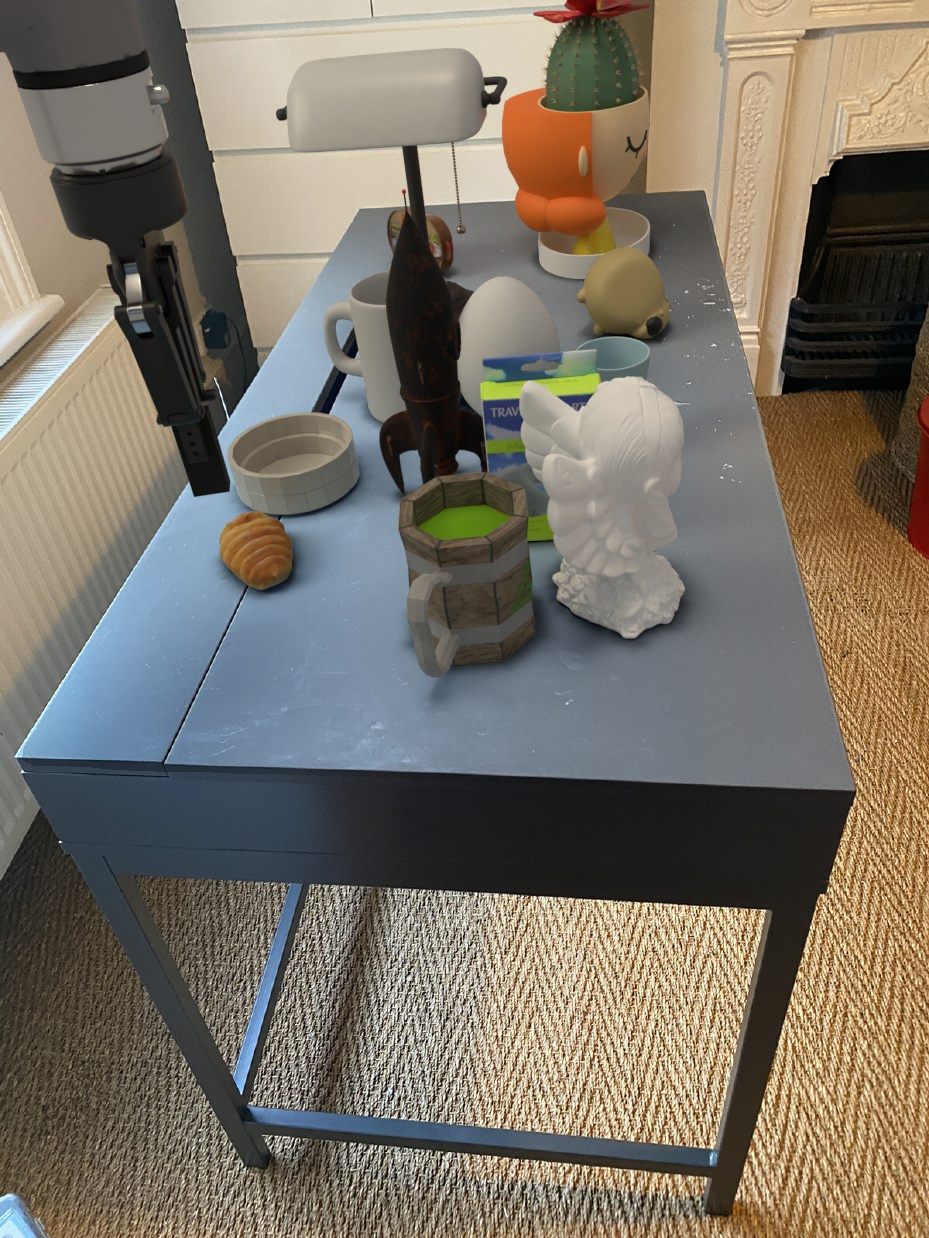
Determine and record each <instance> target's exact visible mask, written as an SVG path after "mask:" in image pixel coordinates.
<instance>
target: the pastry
mask: <svg viewBox="0 0 929 1238" xmlns="http://www.w3.org/2000/svg"><path fill="white" fill-rule="evenodd" d="M218 543H219V546H220V547H219V557H220V559H221V560H222V561H223V563H224V564H225V566H226V568H228V569H229V571H231V572H232V573H233V574H234V576H235V577H236V578H238V579H239V580H240V581H242V583H244V584H245V585H247V586H248V587H249V588H252V589H253V588H254V589H256V590H259V591H262V590H267V589H269V588H270V587H274V586H277V585H280V584H281V583H283V582H284V581H286V580H287V579H288V578H289V576H290V574H291V572H292V570H293V560H294V552H293V547H294V546H293V545H294V543H293V540H292V538H291V537H290V536H289V535H288V534H287V533H286V530H285V524H284V523H283V522H281V521H280V520H279V519H276V518H275V517H271V516H269V515H267V513H264V512H260V511H255V510H253V511H247V512H243V513H240V514H238V515H236V517H234V518H233V520H231V521H229V522H227V523H226V524H225V526H224V528H223V529H222V530H221V532H220V536H219V542H218Z"/></svg>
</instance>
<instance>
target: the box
mask: <svg viewBox="0 0 929 1238" xmlns="http://www.w3.org/2000/svg"><path fill="white" fill-rule="evenodd" d="M540 359H542V360H543V361H544V362H557V363H559V367H558V368H556V369H549V370H535V371H523V370H522V369H521V367H522V365H524V364H530V363H536V361H538V360H540ZM482 364H483V372H484V383H480V398H481V406H482V415H483V416H482V417H483V425H484V436H485V446H486V456H487V467H488V472H489V473H491V474H493V475H496V476H498V477H501V478H503V479H505V480H508V481H510V482H512V483H515V484H517V485H520V486H522V487H524V488H525V493H526V501H527V509H528V531H527V542H535V541H536V542H537V541H538V542H539V541H554V532H553V531H552V529H551V528H550V526H549V522H548V518H547V508H548V502H549V499H550V497H549V495H548V494H547V492H546V490H545V488H544V486H543V483H542V482H541V481H539V480H538V479H537V478H536V476H535V475H534V473H533V471H532V467H531V466H530V465H529V464H528V462H527V459H526V456H525V450H526V447H525V446H524V444H523V441H522V438H521V426H522V423H523V421H524V419H523V418H522V416H521V413H520V409H519V400H520V394H521V389H522V387H523V385H524V384H525V383H526V382H527V381H533V382H536V383H538V384H540V385H541V386H543V387H544V388H545V389H547V390H548V391H550V392H551V393H552V394H554V395H555V396H557V397H558V398H559V399H561V400H562V401H563V402H565V403H566V404H568V405H569V406H570V407H572V408H573V409H574V410H576V411H577V412H578V411H579V410H580V408H581V407H582V406H586V404H587V402H588V401H589V399H590V398H591V397H592V396H593V395H594V394H595V393H596V392H595V389H596V387H597V386H598V385H599V384H600V383H601V379H600V374H598V373H597V349H592V350H580V351H575V350H568V351H561V352H554V353H543V354H531V355H516V356H505V357H492V358H482Z"/></svg>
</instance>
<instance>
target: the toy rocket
mask: <svg viewBox="0 0 929 1238" xmlns="http://www.w3.org/2000/svg"><path fill="white" fill-rule="evenodd" d="M401 193H402V194H403V200H404V209H406V212H405V215H404V219H403V222H402V226H401V229H400V233H399V236H398V240H397V243H396V247H395V250H394V254H393V253H392V258H391V264H390V269H389V270H390V272H389V278H388V285H387V293H386V299H385V300H386V313H387V320H388V327H389V334H390V339H391V344H392V348H393V353H394V358H395V363H396V367H397V372H398V376H399V380H400V385H401V388H400V394H399V395H401V398H402V399H403V400H404V401H405V405H406V409H407V410H405V411H402V412H399V413H396V414H394V415H392V416H391V417H389V418H388V419H387V420H386V421H385V422H384V423H383V422H382V425H381V427H380V429H379V433H378V443H379V448H380V453H381V457H382V460H383V462H384V464H385V467H386V468H387V471H388V472H389V474H390V476H391V479H392V481H393V482H394V484H395V485H396V487H397V489H398V490H399V492H400V493H401V495H402V496H403V497H405V491H406V490H405V481H404V475H403V470H402V464H401V455H402V454H404V453H408V452H413V451H417V455H418V457H419V459H420V460H419V462H420V463H419V464H420V466H419V470H420V473H421V480H422V486H423V485H424V484H426V483H427V482H429V481H430V480H432V479H434V478H435V477H438V476H448V475H454V474H455V473H456V472H457V471H458V470H459V468H460V464H459V462H458V461H457V459H456V456H457V455H458V453H459V452H460V451H465V452H469V453H473V454H474V455H476V456H477V457H478V459H479V462H480V468H481V472H488V467H487V456H486V446H485V436H484V425H483V416H481V415H479V414H478V413H475V412H472V411H469V410H465V409H461V408H460V407H459V405H460V402H459V399H458V394H459V392H460V393H461V391H460V390H461V388H460V381H459V380H458V365H457V360H459V358H460V352H461V343H462V342H461V327H460V323H459V321H455V318H454V311H453V303H452V298H451V295H450V292H449V291H450V290H449V289H448V286H447V283H446V281H447V280H446V281H445V279H446V278H445V276H444V274H443V272H442V271H441V269H440V267H439V265H438V263H437V261H436V259H435V257H434V255H433V253H432V251H431V249H430V247H429V246H428V244H427V242H426V241H425V239H424V237H423V236H422V234H421V233H420V231H419V229H418V228H417V226H416V224H415V223H414V221H413V219H412V218H411V216H410V214H409V213H408V211H407V208H408V203H407V197H406V194H407V190H406V189H404V188H403V189H402V190H401Z"/></svg>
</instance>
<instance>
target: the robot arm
mask: <svg viewBox="0 0 929 1238" xmlns="http://www.w3.org/2000/svg"><path fill="white" fill-rule="evenodd" d="M139 18H140V17H139V13H138V11H137V6H136V3H135V0H0V54H1V53H4V54H5V56H6V58H7V61H8V62H9V65H10V67H11V70H12V75H13V78H14V80H15V83H16V88H17V90H18V93H19V96H20V98H21V99H20V100H21V102H22V104H23V107H24V111H25V113H26V116H27V119H28V123H29V125H30V128H31V131H32V133H33V136H34V141H35V142H36V145H37V148H38V152H39V154H40V157H41V159H42V160H43V161H45V162H46V163H48V164H51V165H54V167H53V168H52V170H51V173H50V176H49V180H50V184H51V186H52V189H53V192H54V195H55V197H56V202H57V203H58V206H59V209H60V212H61V215H62V218H63V220H64V223H65V226H66V229H67V230H68V231H69V232H70V233H71V234H72V235H73V236H75V237H77V238H79V239H82V240H85V241H93V240H95V241H99V242H100V243H103V244H105V245H106V246H107V248H108V250H109V252H108V255H109V259H110V263H108V264H106V274H107V279H108V280H109V284H110V287H111V289H112V292H113V293H115V295H116V296H118V299H119V301H120V304H118V305H114V306H113V317H114V319H115V321H116V323H117V325H118V327H119V328H120V330H121V332H122V334H123V335H124V337H125V338H126V341H127V342H128V344H129V347H130V350H131V352H132V355H133V357H134V359H135V362H136V364H137V366H138V369H139V371H140V374H141V376H142V378H143V381H144V383H145V387H146V388H147V391H148V393H149V396H150V399H151V401H152V403H153V405H154V408H155V410H156V413H157V415H156V419H155V422H156V424H157V425H158V426H161V425H162V426H163V428H168V427H171V431H172V434H173V437H174V440H175V444H176V446H177V449H178V452H179V455H180V458H181V461H182V465H183V467H184V472H185V474H186V476H187V480H188V483H189V486H190V489H191V492H192V495H193V498H199V497H204V496H211V495H217V494H223V493H230V491H231V482H232V481H231V478H230V474H229V472H228V468H227V464H226V461H225V457H224V454H223V451H222V447H221V444H220V440H219V437H218V434H217V433H218V432H217V430H216V427H215V423H214V419H213V416H212V413H211V410H210V406H209V404H207V405H203V403H208V402H216V401H217V400H218V396H217V391H216V388H209V389H205V386H204V384H206V381H207V373H206V371H205V370H204V366H203V362H202V361H203V360H202V358H201V357H202V356H201V353H200V349H199V344H198V340H197V336H196V332H195V328H194V324H193V320H192V319H193V318H192V316H191V312H190V308H189V303H188V300H187V293H186V291H185V287H184V282H183V279H182V274H181V267H180V260H179V259H180V258H179V255H178V253H179V251H178V250H179V249H178V247H177V245H176V244H175V241H174V240H166V239H165V235H164V231H163V230H166V229H167V228H170V227H172V226H174V225H175V224H177V223H179V222H180V221H182V219H184V218H185V216H186V215H187V213H188V211H189V202H188V198H187V194H186V190H185V187H184V183H183V180H182V176H181V171H180V168H179V164H178V161H177V156H176V154H175V153H174V152H172V151H171V150H170V149H169V148H168V147H165V146H164V144H165V143H166V142H167V140H168V138H169V137H170V135H169V131H168V127H167V122H166V120H165V116H164V112H163V108H162V106H161V105H163V104H166V103H168V102H169V100H170V98H171V96H170V91H169V89H167V87H166V86H165V84H161V83H158V84H153V80H152V78H153V76H154V74H153V71H152V68H151V66H150V65H151V61H150V58H149V53H148V50H147V46H146V42H145V39H144V34H143V30H142V27H141V22H140V19H139Z"/></svg>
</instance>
